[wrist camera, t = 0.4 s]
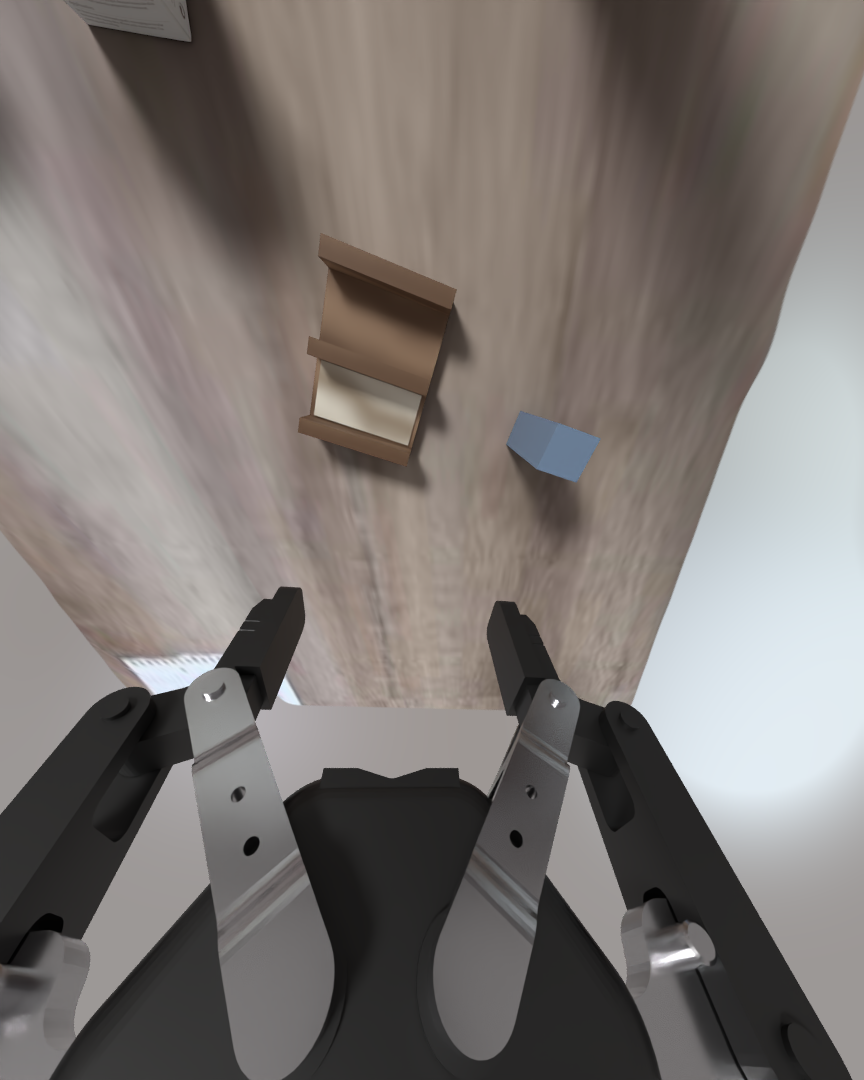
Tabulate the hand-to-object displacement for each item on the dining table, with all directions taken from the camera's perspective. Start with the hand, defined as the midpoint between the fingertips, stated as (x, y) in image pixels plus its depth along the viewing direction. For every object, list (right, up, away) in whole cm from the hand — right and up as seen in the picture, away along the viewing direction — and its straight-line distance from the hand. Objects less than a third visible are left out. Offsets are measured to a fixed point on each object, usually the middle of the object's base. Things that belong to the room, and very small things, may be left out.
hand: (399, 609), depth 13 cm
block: (+13, +16, +24) cm, 32 cm away
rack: (-5, +22, +21) cm, 31 cm away
